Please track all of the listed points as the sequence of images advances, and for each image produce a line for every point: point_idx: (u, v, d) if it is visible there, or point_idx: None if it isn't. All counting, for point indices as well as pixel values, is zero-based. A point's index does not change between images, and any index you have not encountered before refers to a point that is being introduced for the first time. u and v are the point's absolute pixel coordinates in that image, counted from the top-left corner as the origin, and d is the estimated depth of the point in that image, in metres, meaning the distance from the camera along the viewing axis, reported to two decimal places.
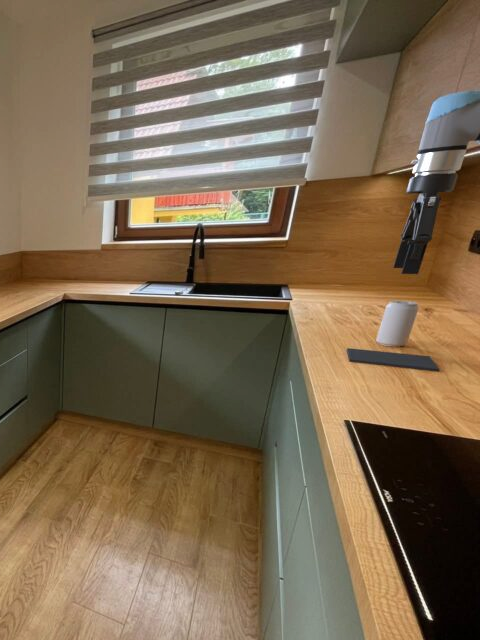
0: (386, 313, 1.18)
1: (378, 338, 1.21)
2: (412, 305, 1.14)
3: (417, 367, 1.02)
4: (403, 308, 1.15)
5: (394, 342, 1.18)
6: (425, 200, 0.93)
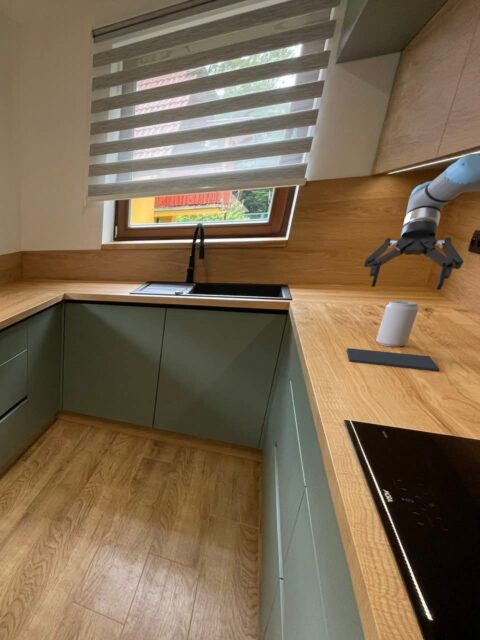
0: (386, 313, 1.18)
1: (378, 338, 1.21)
2: (412, 305, 1.14)
3: (417, 367, 1.02)
4: (403, 308, 1.15)
5: (394, 342, 1.18)
6: None
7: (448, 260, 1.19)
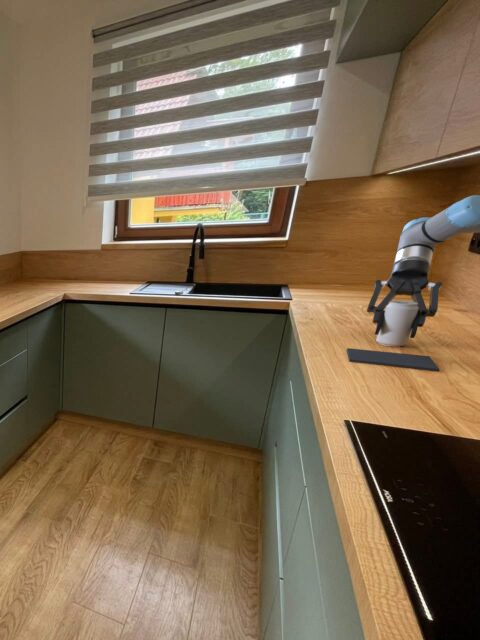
0: (386, 313, 1.18)
1: (378, 338, 1.21)
2: (412, 305, 1.14)
3: (417, 367, 1.02)
4: (403, 308, 1.15)
5: (394, 342, 1.18)
6: None
7: (424, 307, 1.15)
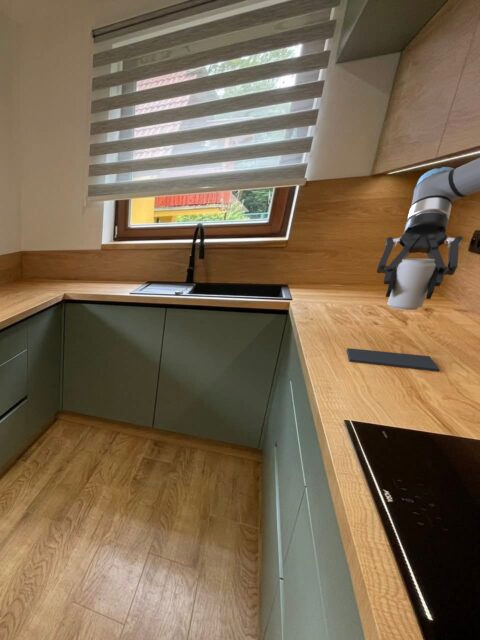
0: (399, 272, 1.05)
1: (389, 301, 1.08)
2: (428, 261, 1.01)
3: (417, 367, 1.02)
4: (418, 265, 1.02)
5: (408, 305, 1.05)
6: None
7: (442, 264, 1.02)
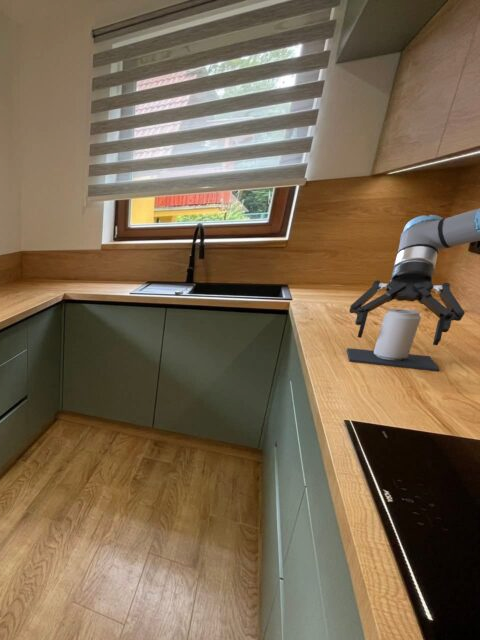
0: (385, 323, 1.06)
1: (376, 350, 1.09)
2: (414, 314, 1.02)
3: (417, 367, 1.02)
4: (403, 317, 1.03)
5: (393, 356, 1.06)
6: None
7: (446, 310, 1.01)
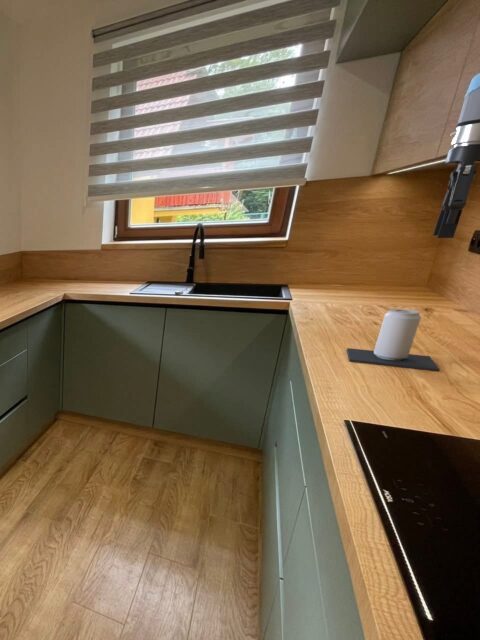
0: (385, 323, 1.06)
1: (376, 350, 1.09)
2: (414, 314, 1.02)
3: (417, 367, 1.02)
4: (403, 317, 1.03)
5: (393, 356, 1.06)
6: (461, 168, 1.02)
7: None
